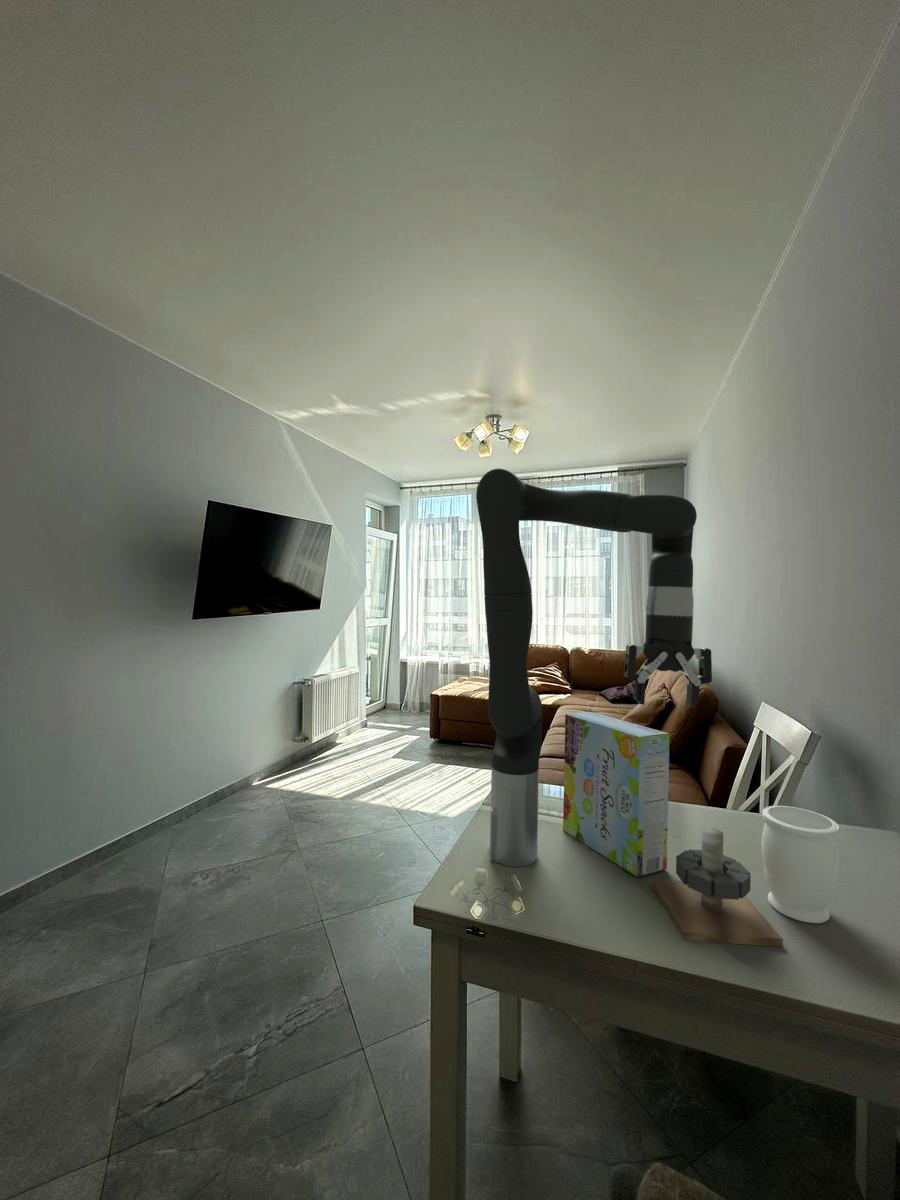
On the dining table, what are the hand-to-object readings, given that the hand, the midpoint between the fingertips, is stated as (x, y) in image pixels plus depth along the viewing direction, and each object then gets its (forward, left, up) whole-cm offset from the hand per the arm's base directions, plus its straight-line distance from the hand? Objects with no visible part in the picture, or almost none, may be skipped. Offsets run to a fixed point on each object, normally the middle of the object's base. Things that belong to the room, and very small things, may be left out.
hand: (665, 705), depth 87 cm
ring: (+5, -7, -27) cm, 28 cm away
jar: (+20, -4, -32) cm, 38 cm away
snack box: (-6, +13, -32) cm, 35 cm away
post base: (+5, -7, -32) cm, 33 cm away
